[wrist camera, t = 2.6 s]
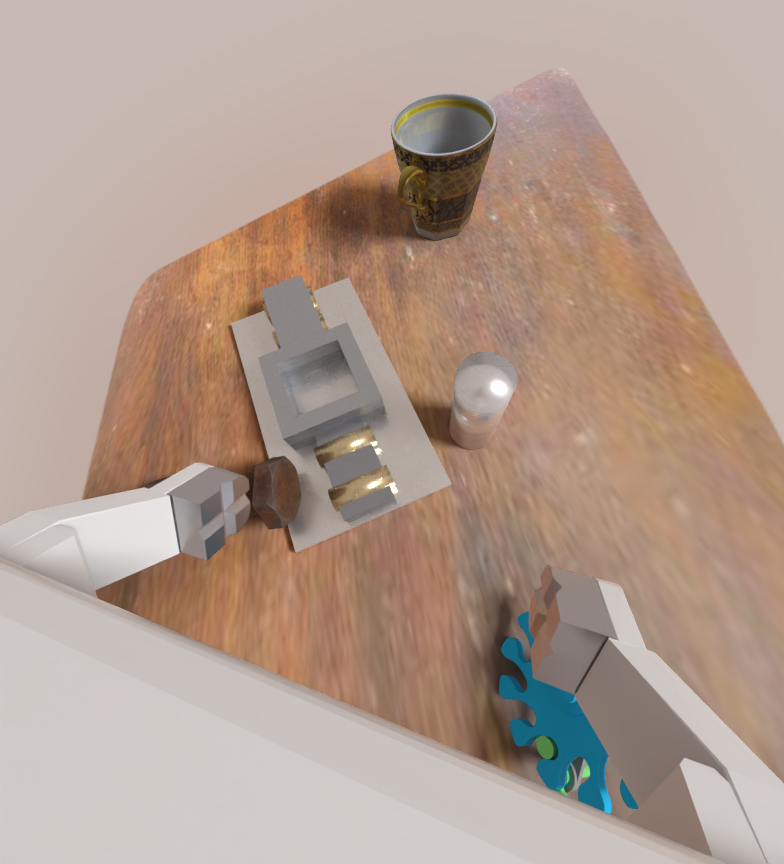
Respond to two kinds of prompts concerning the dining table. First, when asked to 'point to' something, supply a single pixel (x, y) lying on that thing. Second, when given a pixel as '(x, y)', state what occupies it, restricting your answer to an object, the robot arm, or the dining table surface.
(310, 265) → the dining table surface
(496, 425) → the silver upright cylinder
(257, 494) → the bolt
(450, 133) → the ceramic cup
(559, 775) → the gear
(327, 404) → the gray metal plate
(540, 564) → the dining table surface
